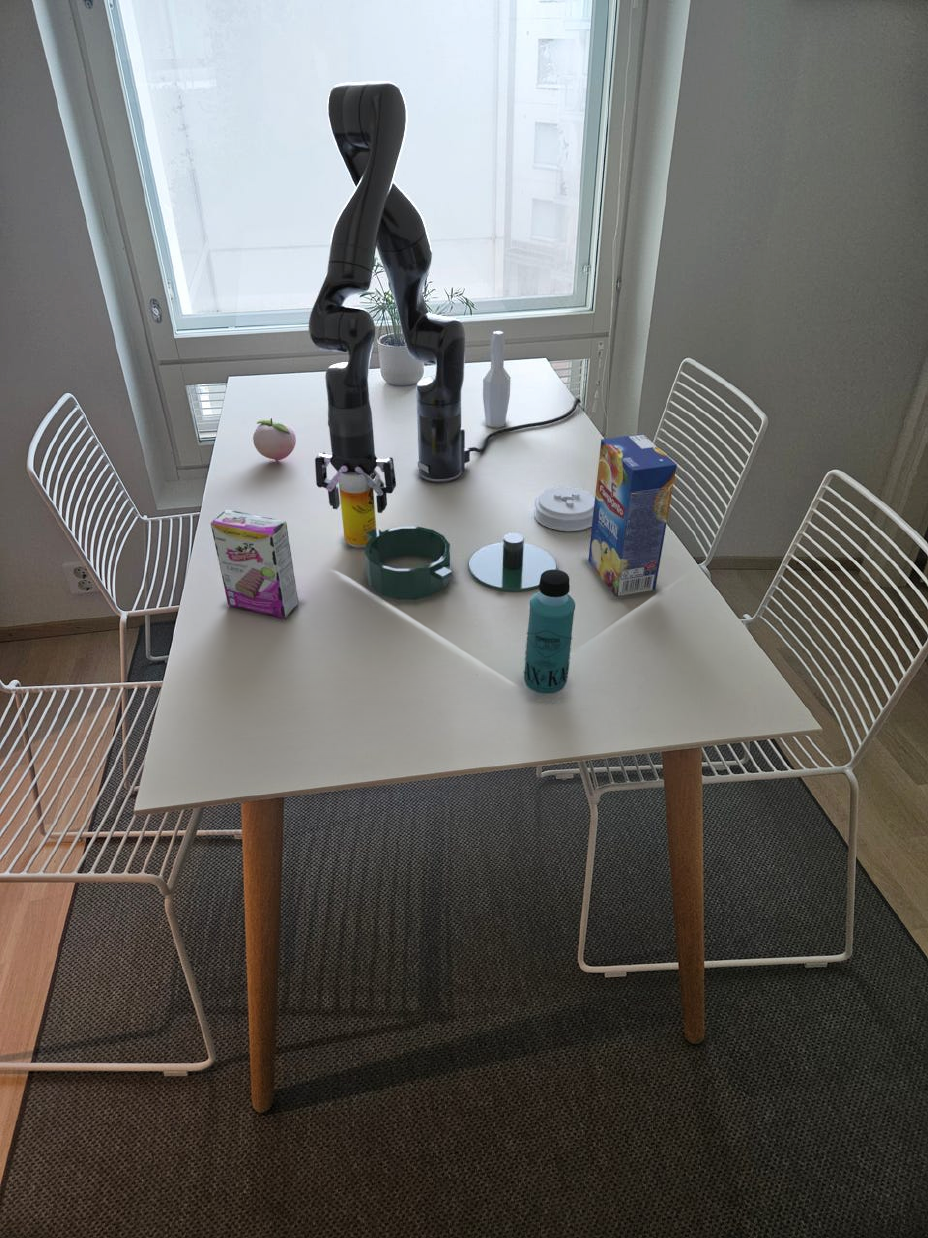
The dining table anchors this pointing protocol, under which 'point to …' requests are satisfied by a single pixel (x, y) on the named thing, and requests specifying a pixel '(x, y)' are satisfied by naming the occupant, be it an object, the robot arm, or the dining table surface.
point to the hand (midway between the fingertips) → (358, 509)
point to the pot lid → (510, 564)
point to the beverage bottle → (549, 634)
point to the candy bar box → (255, 562)
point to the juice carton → (630, 513)
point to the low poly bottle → (496, 384)
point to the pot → (407, 580)
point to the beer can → (356, 508)
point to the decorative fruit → (274, 439)
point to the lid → (565, 508)
